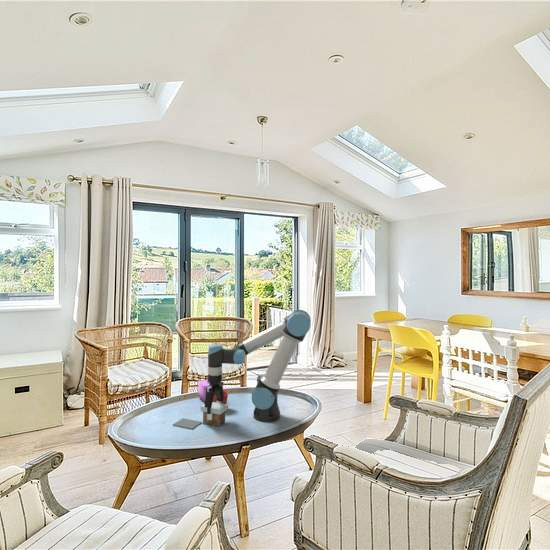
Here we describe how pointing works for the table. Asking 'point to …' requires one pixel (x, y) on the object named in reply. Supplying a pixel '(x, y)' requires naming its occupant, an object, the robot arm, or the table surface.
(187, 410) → the table surface
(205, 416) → the tea box
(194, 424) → the plate
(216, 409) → the lid
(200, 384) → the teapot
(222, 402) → the flower pot
